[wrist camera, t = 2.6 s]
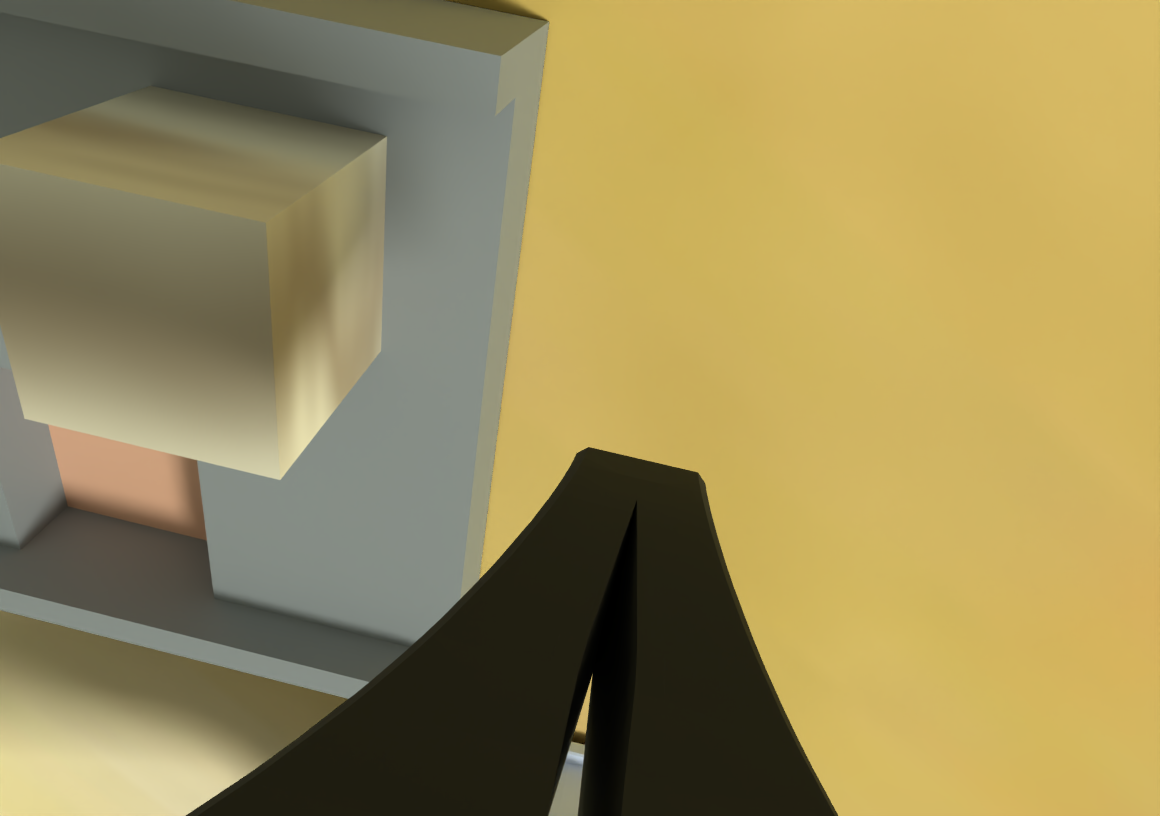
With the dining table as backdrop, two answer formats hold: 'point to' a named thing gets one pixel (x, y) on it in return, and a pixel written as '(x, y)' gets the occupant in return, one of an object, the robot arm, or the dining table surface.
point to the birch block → (191, 274)
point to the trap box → (374, 404)
